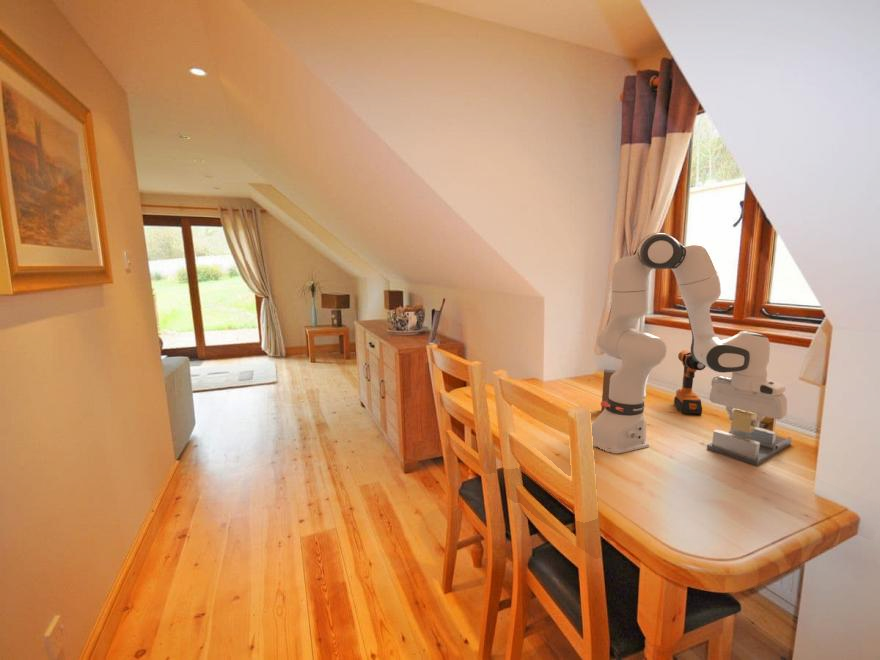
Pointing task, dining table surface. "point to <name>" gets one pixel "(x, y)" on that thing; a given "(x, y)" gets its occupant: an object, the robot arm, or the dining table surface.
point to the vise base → (761, 454)
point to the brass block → (743, 420)
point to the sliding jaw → (760, 432)
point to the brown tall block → (606, 385)
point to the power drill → (688, 385)
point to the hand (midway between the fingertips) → (743, 423)
